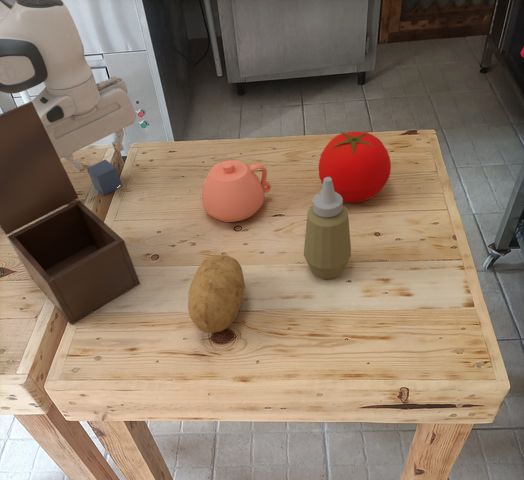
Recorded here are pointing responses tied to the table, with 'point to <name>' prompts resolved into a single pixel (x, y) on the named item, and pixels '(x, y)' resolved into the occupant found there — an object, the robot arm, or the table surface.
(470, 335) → the table surface
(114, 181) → the block
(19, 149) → the lid
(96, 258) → the chest
